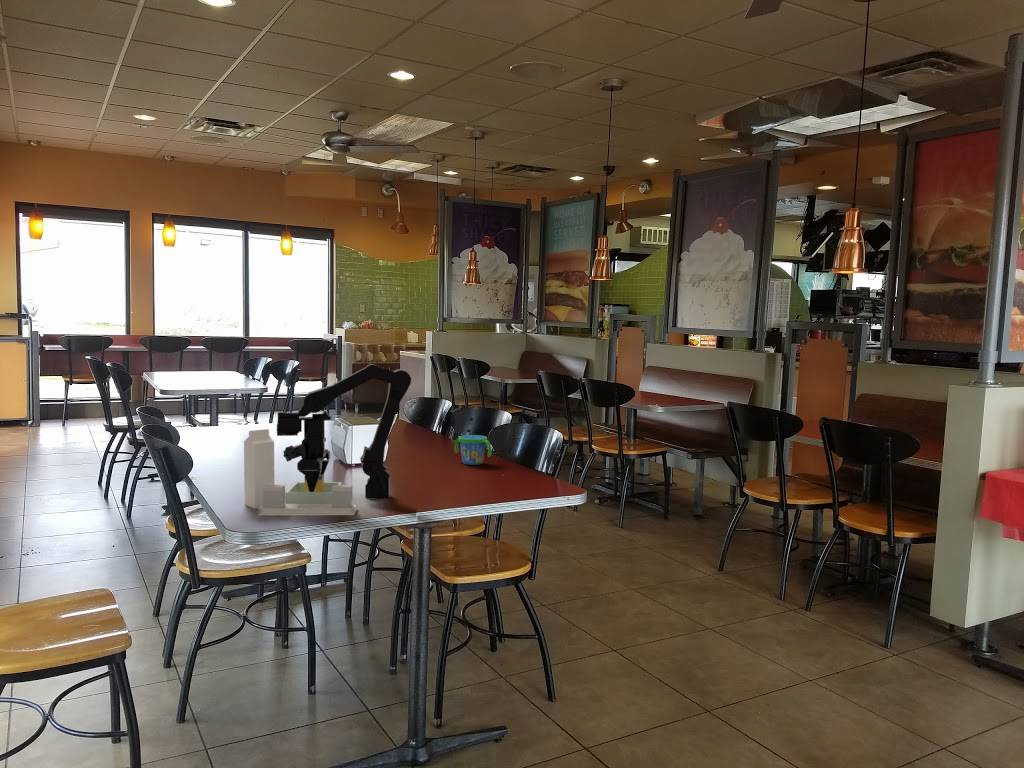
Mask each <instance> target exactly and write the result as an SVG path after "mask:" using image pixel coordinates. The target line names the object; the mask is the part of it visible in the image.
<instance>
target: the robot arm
mask: <svg viewBox="0 0 1024 768" xmlns="http://www.w3.org/2000/svg"><path fill="white" fill-rule="evenodd" d="M373 379H375V380H378V381H381V382H383V383H386V384H387V383H388V387H387V397H386V400H385V403H384V405H383V406H384V407H383V409H382V411H381V412H382V413H381V415H380V418H379V421H378V423H377V428H376V430H375V433H374V436H373V440H372V442H371V444H370V445H369V447H367V446H364V447H363V452H362V454H361V456H360V457H359V461H360V464H361V467H362V471H363V473H364V474H365V475H366V476H368V477H369V478H367V481H366V482H367V483H365V492H364V493H365V494H364V495H365V496H364V497H365V499H370V500H384V499H385V500H386V499H389V498H390V495H391V494H390V493H391V492H390V491H391V490H390V489H391V486H390V485H391V484H390V483H391V478H390V473H389V471H388V469H387V467H385V466H384V458H385V452H386V451H385V448H386V444H387V441H388V439H389V436H390V434H391V430H392V427H393V424H394V422H395V418H396V414H397V412H398V408H399V406H400V404H401V401H402V399H404V396H405V395H406V393H407V391H408V389H409V388H410V386H411V384H412V377H411V375H410V373H409V372H408V371H406V370H404V369H401V368H398V369H395V370H393V369H389V368H385V367H382V366H379V365H376V364H374V363H369V364H367V365H366V366H365V367H364V368H363V367H362V368H361V369H359V370H358V371H355V372H354V373H352V374H350V375H348V376H347V377H344V378H342V379H340V380H339V381H337V382H335V383H333V384H332V385H327V386H325V387H321V388H318V389H315V390H312V391H309V392H308V393H307V394H306V395H305V396H304V398H303V399H304V400H303V405H302V406H301V407H300V408H299V409H298V411H297V412H293V411H292V412H291V411H290V412H284V411H278V413H277V424H276V436H277V437H291V436H293V437H296V436H298V435H299V433H302V430H303V439H302V440H301V443H299V444H297V445H289V446H286V447H285V450H283V451H282V452H283V458H285V460H286V462H287V463H288V462H290V461H292V460H294V459H297V458H300V457H301V459H300V460H298V462H297V463H296V465H297V467H296V470H297V471H298V472H299V473H301V474H303V475H304V479H305V478H306V481H307V485H308V488H309V492H314V490H315V487H316V485H317V482H318V479H319V476H320V474H324V475H325V472H326V470H327V468H328V465H329V463H330V460H331V451H330V450H329V449H327V448H325V447H326V446H325V444H326V442H327V437H326V435H325V434H326V433H325V431H326V430H325V422H326V421H331V419H332V416H331V415H329V413H328V412H327V410H324V409H325V407H327V406H329V405H330V404H331V403H332V402H333V401H334V400H336V399H337V398H339V397H341V396H342V395H344V394H346V393H348V392H350V391H352V390H353V389H356V388H357V387H360V385H363V384H365V383H366V382H369V381H370V380H373ZM322 410H324V411H323V413H319V412H321V411H322ZM310 414H311V415H312V416H308V415H310ZM302 421H303V422H302ZM302 425H303V427H302Z"/></svg>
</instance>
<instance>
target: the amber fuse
mask: <svg viewBox="0 0 1024 768" xmlns="http://www.w3.org/2000/svg"><path fill="white" fill-rule="evenodd" d="M304 482H305V492H309V488H308V485H307V481H306V478H305V477H304ZM324 482H325V473H324V474H320V476H319V479H318V482H317V485H316V487H315V490H314V492H324Z"/></svg>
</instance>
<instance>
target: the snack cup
mask: <svg viewBox="0 0 1024 768" xmlns="http://www.w3.org/2000/svg"><path fill="white" fill-rule="evenodd" d="M459 443H460V448H459ZM486 447H487V449H488V450H487V455H486V456H487V458H490V457H491V456H492V454H493V450H492V446H491V442H490V441H489V440H488V437H487V436H485V435H479V434H467V435H466V434H465V435H460V436H459V437H457V438H456V440H455V442H454V448H453V450H454V453H455V454H457V453H459V452H460V453H461V455H460V456H461V461H462V463H463V464H464V465H468V466H469V465H470V466H479V465H480V466H481V464H483V463H484V457H485V451H486Z"/></svg>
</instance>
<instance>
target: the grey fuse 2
mask: <svg viewBox="0 0 1024 768" xmlns="http://www.w3.org/2000/svg"><path fill="white" fill-rule="evenodd" d="M352 504H353V484H342V485H333V487H332V508H352Z"/></svg>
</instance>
